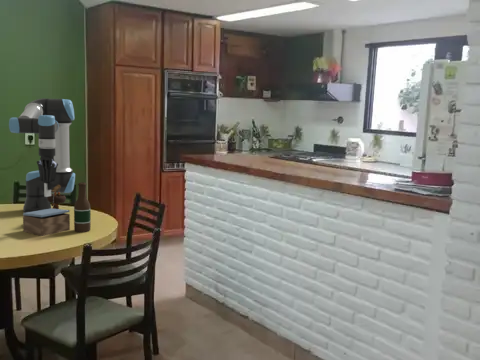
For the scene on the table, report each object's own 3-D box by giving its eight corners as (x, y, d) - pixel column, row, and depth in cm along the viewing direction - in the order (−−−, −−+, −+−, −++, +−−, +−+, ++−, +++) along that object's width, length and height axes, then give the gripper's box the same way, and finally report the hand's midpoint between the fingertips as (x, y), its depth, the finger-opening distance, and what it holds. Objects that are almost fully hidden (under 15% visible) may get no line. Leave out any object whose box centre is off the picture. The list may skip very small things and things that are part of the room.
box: (51, 225, 255) (51, 210, 254) (69, 230, 248) (69, 214, 247) (23, 231, 242) (23, 215, 241) (42, 236, 235) (41, 219, 234)
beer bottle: (84, 233, 243) (83, 184, 240) (70, 231, 246) (70, 183, 242) (93, 229, 250) (93, 182, 247) (81, 228, 253) (80, 181, 250)
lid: (51, 210, 254) (51, 208, 254) (69, 212, 247) (69, 210, 247) (23, 215, 241) (22, 213, 241) (41, 217, 233) (41, 215, 233)
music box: (65, 224, 259) (64, 186, 256) (42, 225, 256) (41, 186, 253) (67, 218, 273) (66, 182, 270) (45, 218, 270) (45, 182, 268)
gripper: (31, 147, 239) (32, 195, 243) (49, 149, 232) (50, 199, 236) (44, 146, 246) (45, 193, 249) (62, 148, 239) (63, 196, 242)
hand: (47, 196), depth 243 cm, fingers closed
